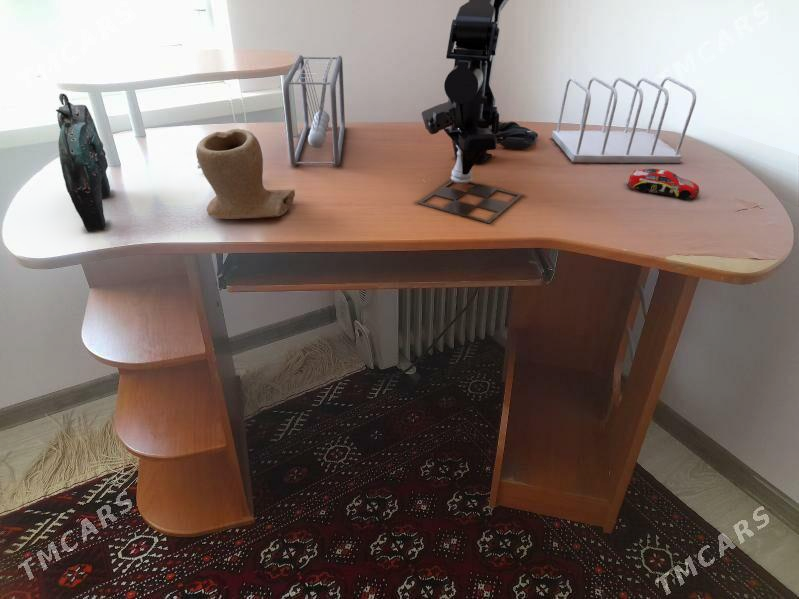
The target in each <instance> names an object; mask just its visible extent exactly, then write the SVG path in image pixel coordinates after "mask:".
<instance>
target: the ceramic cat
mask: <svg viewBox="0 0 799 599" xmlns="http://www.w3.org/2000/svg"><path fill="white" fill-rule="evenodd" d="M58 99H59V101H60V104H61V105H62V106H59V108H57V109H55V112H57V114H56V116H57V123H58V126H59V129H60V130H59V136H58V154H59V155H58V156H59V162H60V168H61V173H62V176H63V177H62V178H63V180H64V185H65V188H66V191H67V193H68V195H69V197H70V199H71V203H72V204H73V206H74V209H75V211H76V212H77V214H78V216H79V217H80V219H81V221H82V224H83V227H84V229H85V230H86V232H89V233H90V232H97V231H105V229H106V226H107V223H106V218H105V212H104V203H103V199H106V198H110V197H111V185H110V181H109V178H108V176H107V170H108V167H109V164H108V159H107V156H106V151H105V149H104V144H103V141H102V139H101V137H100V136H99V133H98V129H97V128H96V125H95V121H94V119H93V117H92V114H91V113H90V110H89V108H88V107H87V105H85V104H73V103H71V102H70V101H69V98H68V96H67V94H66V93H59V96H58Z"/></svg>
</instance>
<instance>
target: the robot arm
mask: <svg viewBox="0 0 799 599" xmlns="http://www.w3.org/2000/svg"><path fill="white" fill-rule="evenodd" d="M509 1H510V0H468V1H467V2H465V3H464V4H463V5H461V6H460V7H459V8H458V11H457V13H456V16H455V19H452V22H451V27H450V32H449V37H448V38H449V39H448V44H447V50H446V57H445V58H446V59H448V60H454V64H453V65H454V66H453V68H452V69H451V70H450V72H449V73H448V74H447V75H446V77H445V80H444V85H443V86H444V92H445V95H446V96H447V101H445V102H442V103H439V104H437V105H434V106H432V107H430V108H427V109H425V110H423V111H422V112H421V118H422V120H423V124H424V127H425V130H427V131H428V133H429V134H430V135H435V134H438V133H439V132H440V131H442V130H443V131H444V133H445V134H446V135H447V136H448V137H449V138H450V139H451V142H452V147H453V152H454V159H455V162H456V161H457V152H458V148H457V147H456V145H457V146H458V147H459V148H460V149H461V164H462V173H463V174H464V175H465V174H468V173H469V172H470V170H471V171H472V168H473V167H474V165H475V164H476V165H481V164H483V163H484V162H486V161H487V160H490V159H491V158H492V157H493V154H492V153H488V151H495V150H497V146H498V144H497V138H496V136H495V135H494V134H498V128H499V122H500V113H499V111H498V106H496V98H495V94H494V93H493V90H492V87H491V83H492V75H493V69H494V62H495V56H496V54H497V50H498V49H497V48H498V43H499V38H500V34H501V33H500V30H501V29H500V28H499V25H500V17H501V12H502V10H504V8H505V6H506V5H507V4H508V2H509ZM490 125H492V126H490Z"/></svg>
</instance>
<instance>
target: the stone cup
mask: <svg viewBox="0 0 799 599" xmlns="http://www.w3.org/2000/svg"><path fill="white" fill-rule="evenodd" d="M195 155H196V158H197V163H198V162H199V164H200V167H201V168H200V169H201V171H202V174H203V176H204V177H205V179H206V180H207V182H208V183H209V185H210V187H211V188H212V190H213V192H214V194H215V196H214V197H213V198H212V199H211V200H210V201H209V202H208V204H207V206H206V212H207V214H208V216H209V217H210V218H213V219H223V220H238V219H239V220H240V219H259V218H273V217H275V218H276V217H279V216H283V215H285V214H286V213H287V212H288V210H289V209H290V207H291V206H292V203H293V202H294V198H295V195H296V192H295V189H293V188H292V189H291V188H290V189H266V188H265V187H264V183H263V173H264V158H263V151H262V147H261V144H260V142H259V140H258V138H257V137H256V136H255V134H254V133H252V132H251V131H250V130H247V129H244V128H243V129H242V128H233V129H232V128H231V129H229V130H226V131H216V132H212V133H210V134H208V135H206V136H204V137H203V138H202V139H201V140H200V141H199V142H198V144H197V146H196V150H195Z"/></svg>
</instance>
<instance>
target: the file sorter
mask: <svg viewBox="0 0 799 599" xmlns="http://www.w3.org/2000/svg"><path fill="white" fill-rule="evenodd" d="M571 81H572V82H573V83H574V84H575V85H576V86H577V87H579V88H580V89H582V90H583V91H584V92H585V96H584V97H585V98H584V102H583V108H582V114H581V119H580V125H579V130H560V128H561V124H562V119H563V115H564V110H565V106H566V100H567V96H568V91H569V86H570V83H571ZM593 81H595V82H596V83H598V84H600V85H602V86H604V87H605V88H607V89H609V91H610V95H609V99H608V102H607V107H606V111H605V116H604V120H603V124H602V129H601V130H585V129H586V126H587V125H586V124H587V121H588V117H589V116H588V115H589V112H590V106H591V100H592V95H591V91H590V90H591V85H592V83H593ZM619 81H620V82H622V83H623V84H625V85H627V86H629V87H631V88H632V89H634V92H633V96H632V98H631V99H632V100H631V103H630V108H629V112H628V115H627V119H626V123H625V127H624V130H611V128H612V123H613V120H614V116H615V111H616V108H617V103H618V92H617V89H616V86H617V83H618V82H619ZM667 81H669V82H672V83H673V84H675V85H677V86H679V87H681V88H683V89H684V90H687V91H689V92H690V93H691V95H692V101H691V105H690V108H689V111H688V114H687V117H686V119H685V123H684V126H683V129H682V132H681V135H680V137H679V140H678V144H677V146H676V150H675V149H673V148H672V147H671V146H670V145H668V144H667V143H666V142H665V141H663V140H662V139H660V138H659V137H660V132H661V129H662V126H663V122H664V119H665V115H666V112H667V108H668V105H669V99H670V96H669V91H668V90H667V89H666V88H665V87H664V85H665V83H666V82H667ZM642 82H645V83H646V84H648V85H650V86H652V87H654V88H656V89H658V93H657V95H656V99H655V102H654V104H653V109H652V112H651V115H650V119H649V122H648V125H647V129H646V131H641V130H639V131H637V130H636V128H637V125H638V120H639V117H640V114H641V110H642V106H643V102H644V92H643V89H642V88H641V87H640V84H642ZM662 92H663V93H664V97H665V98H664V105H663V108H662V111H661V115H660V119H659V122H658V126H657V130H656V133H655V134H654V132H652V131H651V127H652V124H653V121H654V118H655V114H656V111H657V107H658V104H659V101H660V97H661V94H662ZM637 93H638V94H639V102H638V106H637V108H636V109H637V110H636V113H635V117H634V120H633V125H632V127H631V128H632V129H631V130H629V131H628V129H629V125H630V121H631V117H632V114H633V110H634V106H635V102H636V99H637V95H638V94H637ZM612 102H613V105H612ZM696 102H697V92H696V91H695V89H694V88H692V87H690V86H689V85H687V84H684V83H682V82H680V81H679V80H676V79H675V78H673V77H670V76H667V77H665V78H663V79H662V81H661V83H660V84H658V83H655V82H653V81H652V80H650V79H648V78H646V77H642V78H639V79H638V81H637V83H636V84H634V83H632V82H631V81H629V80H627V79H625V78H623V77H621V76H619V77H617V78H615V79H614V81H613V83H612V85H610V84H609V83H607V82H605V81H604V80H602V79H600V78H598V77H596V76H592V77H591V78H590V79H589V81H588V83H587V86H585V85H584V84H582V83H581V82H580V81H579V80H577V79H576V78H575V77H572V76H570V77H569V78H567V80H566V84H565V87H564V93H563V98H562V101H561V106H560V112H559V117H558V122H557V126H556V130H552V134H551V138H552V139H553V140H554V141H555V143H556V144H557V145H558V146H559V148H561V150H562V151H563V152H564V154H565V155H566V156H567V157H568V158H569V160H570V161H571V162H572V163H606V164H607V163H608V164H609V163H613V164H614V163H618V164H619V163H621V164H624V163H626V164H627V163H628V164H630V163H631V164H635V163H636V164H679V163H681V160H682V157H683V155H682V154H680V150H681V147H682V144H683V142H684V139H685V136H686V132H687V130H688V127H689V125H690V124H689V123H690V121H691V118H692V115H693V112H694V110H695V105H696V104H697V103H696ZM611 106H612V107H611ZM610 111H611V112H610ZM609 113H610V115H609ZM608 118H609V121H608ZM607 122H608V123H607Z"/></svg>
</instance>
